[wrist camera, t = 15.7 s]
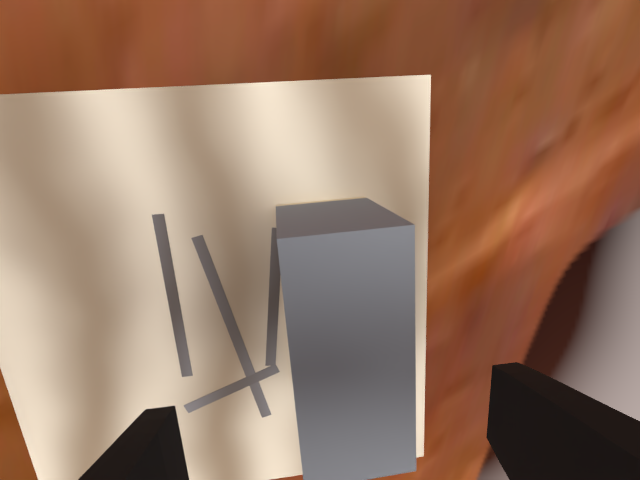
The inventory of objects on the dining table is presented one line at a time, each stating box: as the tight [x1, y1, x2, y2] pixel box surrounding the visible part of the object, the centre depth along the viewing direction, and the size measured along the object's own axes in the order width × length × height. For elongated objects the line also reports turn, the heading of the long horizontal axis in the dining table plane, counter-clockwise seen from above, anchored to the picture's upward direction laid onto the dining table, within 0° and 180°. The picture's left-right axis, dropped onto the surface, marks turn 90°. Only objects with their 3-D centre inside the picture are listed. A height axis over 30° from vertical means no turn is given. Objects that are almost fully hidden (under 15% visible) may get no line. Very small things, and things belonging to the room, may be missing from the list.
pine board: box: [0, 75, 431, 480], centre depth 17 cm, size 20×20×1 cm
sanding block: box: [276, 197, 416, 480], centre depth 14 cm, size 4×9×6 cm, turn 4°
